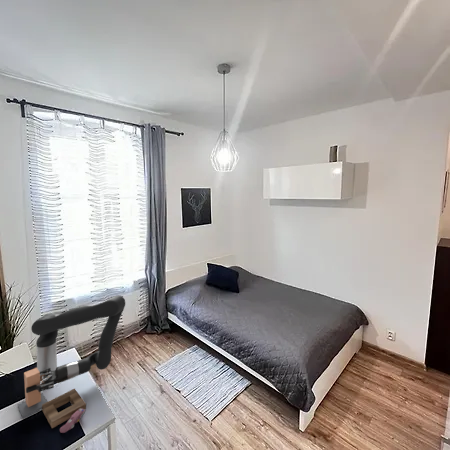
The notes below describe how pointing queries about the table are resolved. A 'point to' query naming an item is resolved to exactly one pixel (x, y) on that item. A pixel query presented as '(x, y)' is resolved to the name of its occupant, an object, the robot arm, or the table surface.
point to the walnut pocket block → (58, 418)
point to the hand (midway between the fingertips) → (25, 386)
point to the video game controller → (72, 420)
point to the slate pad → (31, 407)
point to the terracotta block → (32, 379)
